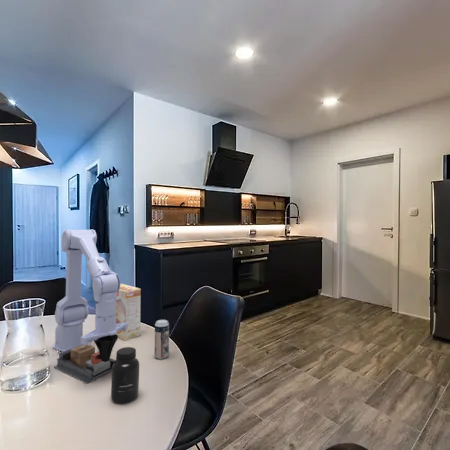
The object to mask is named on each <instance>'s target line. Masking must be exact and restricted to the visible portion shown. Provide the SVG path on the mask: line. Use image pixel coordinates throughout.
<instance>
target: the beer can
mask: <svg viewBox="0 0 450 450" xmlns="http://www.w3.org/2000/svg"><path fill="white" fill-rule="evenodd" d="M169 345H170V323H169V320H166V319H158V320H156V321H155V324H154V355H153V356H154V357H155V358H156V359H159V360H163V359H166V358H167V357H169V354H170V350H169V349H170V346H169Z"/></svg>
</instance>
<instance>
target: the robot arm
mask: <svg viewBox="0 0 450 450" xmlns="http://www.w3.org/2000/svg"><path fill="white" fill-rule="evenodd" d="M97 239H98V236H97V232H96V231H95V230H94V228H93V229H68V228H67V229H65V230H64V231H63V232H62V234H61V251H62V252H64V253H65V254H66V269H65V271H66V275H65V276H66V278H65V296H64V297H63V298H62V299H60V300H59V301H57V303H56V307H55V311H54V318H55V323H56V324H57V325H56V327H55V331H54V335H55V336H54V339H55V341H54V345H53V346H52V349H54V350H57V351H60V352H64V351H67V350H69V349H72V348H75V347H78V346H80V345H89V343H94V344H95V345H96V348H97V349H98V352H99V353H100V357H101V361H103V362H107V361H109V360H110V358H111V356H112V352H113V348H114V346H115V344H116V343H117V341H118V339H119V337H118V335H115V334H117V332H119V331H122V330H127V324H128V323H124V322H123V323H119V324H116V292H118V291H119V289H120V284H121V280H120V276H119V274H118V273H116V272H114V271H112V269H111V268H110V266H109V265H108V263H107V261H106V259H105V258H104V257H102V256H100V254H99V251H98V248H97V246H96V244H97ZM83 256H84V257H85V259H86V260H87V263H86V269H87V272H88V274H89V276H90V277H91V280H92V285H91V286H92V291H93V299H94V301H95V317H94V318H95V320H94V321H95V326H94V327H95V328H94V329H93V330H92V331H90V332H88V333H87V334H84V335H83V333H84V330H83V329H84V328H83V327H84V325H83V323H85V320H86V319H88V316H89V307H88V300H87V299H86V298H85V297H84V296H81V295H82V290H81V289H82V288H81V287H82V264H83V263H82V262H83V261H82V260H83V259H82V258H83Z"/></svg>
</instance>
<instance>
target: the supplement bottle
mask: <svg viewBox="0 0 450 450" xmlns="http://www.w3.org/2000/svg"><path fill="white" fill-rule="evenodd" d="M136 351H137V350H136V348H135V347H131V346H126V347H122V348H119V349H118V350H117V351H116V356H115V360H116V361H115V362H114V363H113V365H112V371H111V380H110V381H111V387H110V399H111V401H112V402H114V403H115V404H119V405H122V404H128V403H129V404H130V402H131V403H132V402H133V401H134V400H135V399H136V398H137V397H138V396H139V389H140V361H139V359H138V358H137V352H136Z"/></svg>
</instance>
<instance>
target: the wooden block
mask: <svg viewBox="0 0 450 450" xmlns="http://www.w3.org/2000/svg"><path fill="white" fill-rule="evenodd" d="M94 353H96V347H95V346H93V345H90V344H88V345H82V346H79V347H76V348H74V349H71V362H72V363H75V364H77V365H79V366H82V367H84V368H85V367H86V362H87V361H89V360H91V355H92V354H94Z"/></svg>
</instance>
